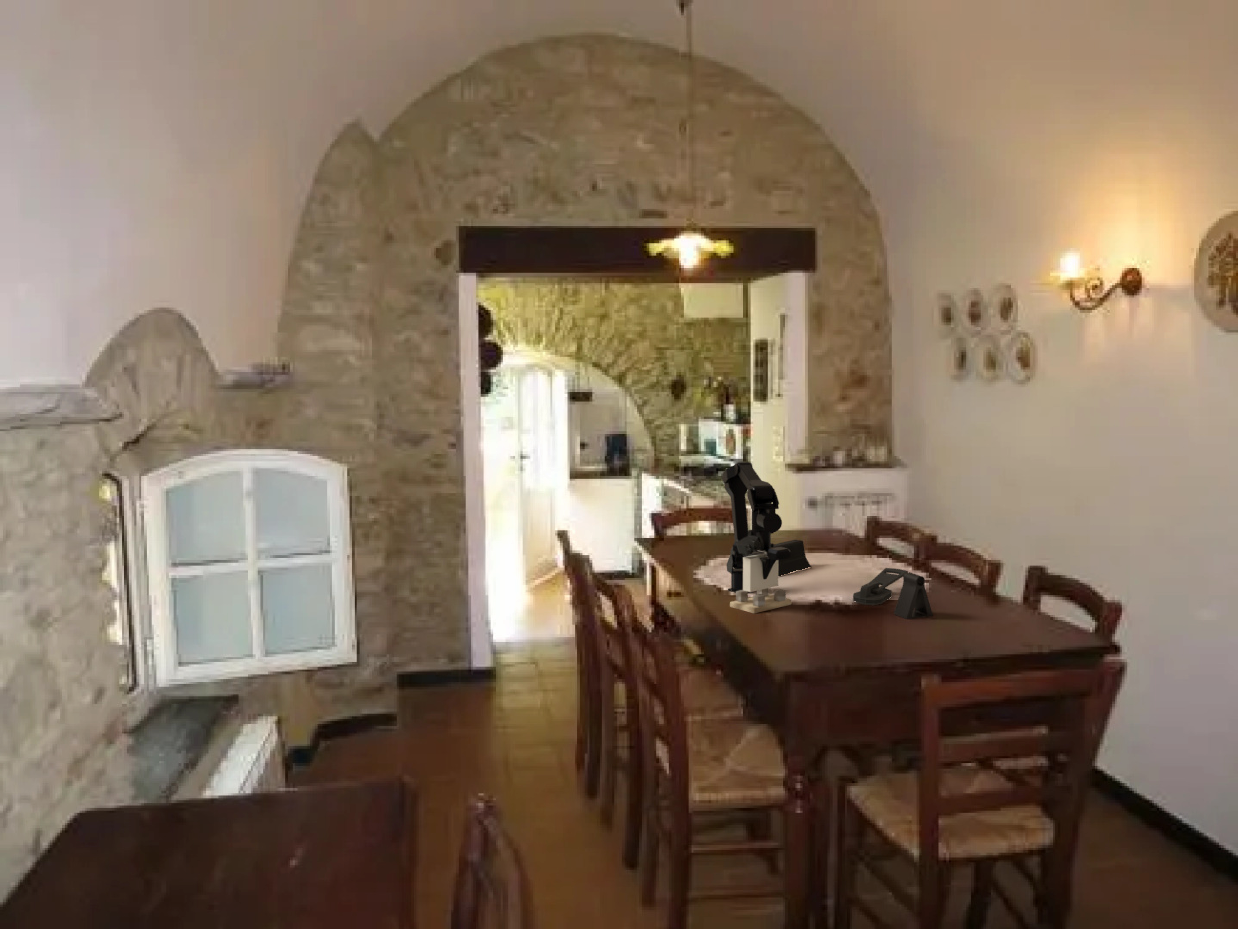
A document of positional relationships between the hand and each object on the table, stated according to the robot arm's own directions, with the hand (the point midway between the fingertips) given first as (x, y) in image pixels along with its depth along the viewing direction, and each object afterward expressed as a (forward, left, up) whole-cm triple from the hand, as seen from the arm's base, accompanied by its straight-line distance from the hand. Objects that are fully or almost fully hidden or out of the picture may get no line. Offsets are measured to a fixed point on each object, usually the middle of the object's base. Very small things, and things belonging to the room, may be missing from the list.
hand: (760, 578), depth 293 cm
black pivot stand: (+36, +25, -9) cm, 45 cm away
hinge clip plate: (0, 0, -8) cm, 8 cm away
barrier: (-28, +40, -9) cm, 49 cm away
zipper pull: (+16, +36, -9) cm, 41 cm away
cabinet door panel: (0, 0, -3) cm, 3 cm away
